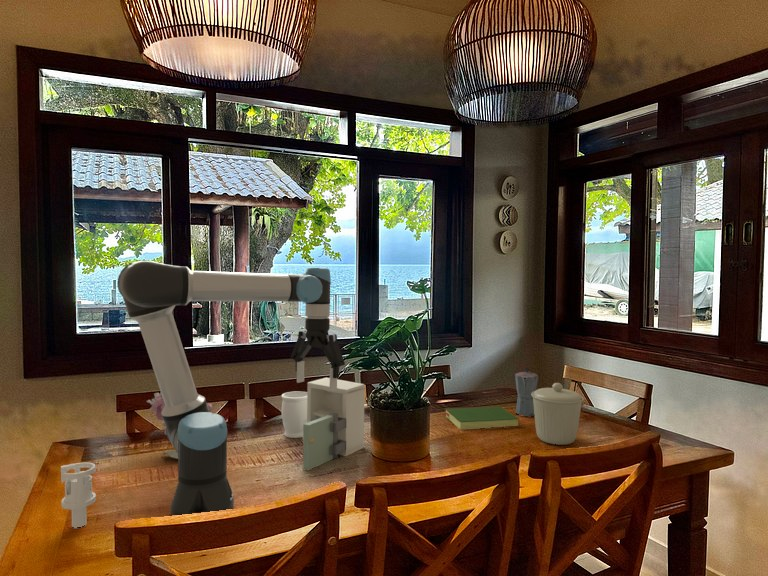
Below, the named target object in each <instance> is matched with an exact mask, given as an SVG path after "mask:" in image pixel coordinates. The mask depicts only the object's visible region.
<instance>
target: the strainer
mask: <svg viewBox="0 0 768 576" xmlns="http://www.w3.org/2000/svg"><path fill="white" fill-rule="evenodd" d="M83 468H87V470H82V471H81V469H83ZM88 468H89V469H88ZM70 470H74V472H71V473H70V472H69V471H70ZM95 472H96V464H95V463H94V462H87V461H86V462H78V463H70V464H64V465H61V466H60V482H61V483H64V497H62V499H61V501H60V502H61V508H62V509H64V510H71V528H72V527H74V528H73V529H78V528H77V527H81V528H83V527H82V526H84V525H85V526H87V521H88V520H87V507H88V506H91V505H92V504H94V503H95V502H96V501H97V493H95V492H93V476H92V474H94V473H95ZM85 526H84V527H85Z"/></svg>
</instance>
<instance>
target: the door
mask: <svg viewBox="0 0 768 576" xmlns="http://www.w3.org/2000/svg"><path fill="white" fill-rule="evenodd" d="M336 421H338V414H336V413H331V414H328V415H327V416H324V417H322V418H319V419H316V420H313V421H311V422H308V423H305V424H303V437H301V440H302V442H303V444H302V445H303V446H302V450H303V452H302V453H303V455H302V463H303V464H302V468H303V470H304V469H305V471H307V470H308V471H310V469H311V470H312V468H313V469H315V468H317V467H318V466H320V465H324V464H325V463H328V462H330V461H331V460H336V459H338V458H339V457H338V455H339V454H337V455H335V456H333V455H330V446H331V445H336V444H338V431H337V432H335V433H334V432H331V422H336ZM314 467H315V468H314Z"/></svg>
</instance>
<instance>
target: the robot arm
mask: <svg viewBox="0 0 768 576" xmlns="http://www.w3.org/2000/svg"><path fill="white" fill-rule="evenodd" d="M331 283H332V281H331V271H330V269H329V268H327V267H307V268H306V269H305V273H266V272H265V273H264V272H260V273H258V272H241V271H239V272H238V271H237V272H236V271H235V272H234V271H231V272H230V271H211V270H210V271H207V270H191V269H190V268H189V267H188V266H180V265H172V264H165V263H160V262H157V261H153V260H148V259H147V260H145V259H143V260H136V261H132V262H130V263H128V264H127V265H126V266H124V267H123V268H122V270H121V271H120V273H119V275H118V277H117V283H116V285H117V289H118V292H119V294H120V295H121V297H122V299H123V303H124V305H125V308H126V310H127V313H128V317H129V319H131V320H133V321H135V322H137V323H138V327H139V329H140V333H141V336H142V338H143V341H144V344H145V348H146V351H147V354H148V357H149V359H150V362H151V363H150V364H151V365H152V366H151V367H152V369H153V372H154V376H155V378H156V381H157V385H158V387H159V390H160V392H161V394H162V397H163V400H164V403H165V407H164V409H163V410H162V412H161V413H162V416H163V420H164V423H165V426H164V427H165V429H166V434H167V435H166V434H165V435H166V436H167V437H166V438H167V439H168V440H169V442H170V443H171V445H172V447H173V448H174V450H176V452H177V453H178V459H177V463H178V464H177V470H178V471H177V477H178V478H177V480H178V482H177V485H176V488H175V492H174V494H173V498H172V501H171V504H170V515H182V514H192V513H201V512H210V511H219V510H226V509H232V510H233V509H234V506H235V505H234V504H235V502H234V501H235V500H234V499H235V498H234V493H233V490H232V488H231V485H230V482H229V480H228V476H227V473H228V470H227V464H228V463H227V462H228V461H227V460H228V459H227V458H228V457H227V456H228V448H227V446H228V442H227V441H228V440H227V439H228V428H227V422H226V420H225V418H224V417H223V416H222V415H220V414H218V413H214V412H211V413H210V412H209V409H208V406H207V403H208V402H207V400H206V397H205V396H203V395H201V394H199V393H198V392H197V388H196V385H195V381H194V378H193V375H192V372H191V368H190V365H189V362H188V360H187V356H186V353H185V349H184V347H183V343H182V340H181V337H180V334H179V330H178V328H177V324H176V321H175V318H174V315H173V310H174V309H175V307H176V306H187V305H188V304H189V303H190V302H289V303H293V302H296V303H297V302H299V303H305V311H304V312H305V314H304V315H305V317H306V318H305V320H304V321H305V325H304V326H305V327H304V329H305V330H301V331H298V333H297V334H298V335H297V339H296V342H295V344H294V347H293V349H292V352H291V354H290V359H291V360H294V362H295V372H296V383H297V384H299V383H303V382H305V360H304V359H305V357H306V356H307V354H308V353H309V352H310V350H311V349H312V348H318V349H320V350H321V351H322V352H323V353H324V355H325V357H326V358H327V360H328V362H329V364H330V365H331V366H330V367H329V378H330V389H334V388H337V379H339V377H340V367H342V366H345V365H346V363H345V359H344V356H343V354H342V352H341V348H340V346H339V345H340V344H339V343H338V335H337V334H336V333H334V334H329V331H330V326H331V324H330V323H331V322H330V321H331V319H330V318H329V317H330V316H331V315H330V314H331ZM330 362H331V363H330ZM233 505H234V506H233Z"/></svg>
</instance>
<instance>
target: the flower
mask: <svg viewBox="0 0 768 576" xmlns="http://www.w3.org/2000/svg"><path fill="white" fill-rule="evenodd" d="M153 395H154V398H151V399H148V400H146V403H148V404H150V405H151V407H150V408H149V411H150V412H151V413H152V414H154V413H155V417H156V419H157V420H158V421H159V420H160V421H161V424H162V425H163V427H166V426H165V423H164V420H163V416H162V413H161V412H162V410H163V409H164V407H165V403H164V400H163V397H162V394H161V391H160V393H159V392H155V393H153ZM206 403H207V406H208V409H209V412H210V413H213V405H212V404H210V403H208V402H206ZM164 435H166V436H167V434H166V428H165V429H164ZM165 455H168V456H169V457H170V458H172V459H177V460H178V453H177V452H176V450H175V449H172V450H167V451H164V452H163V453H162V454H161V458H162V457H163V456H165Z"/></svg>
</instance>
